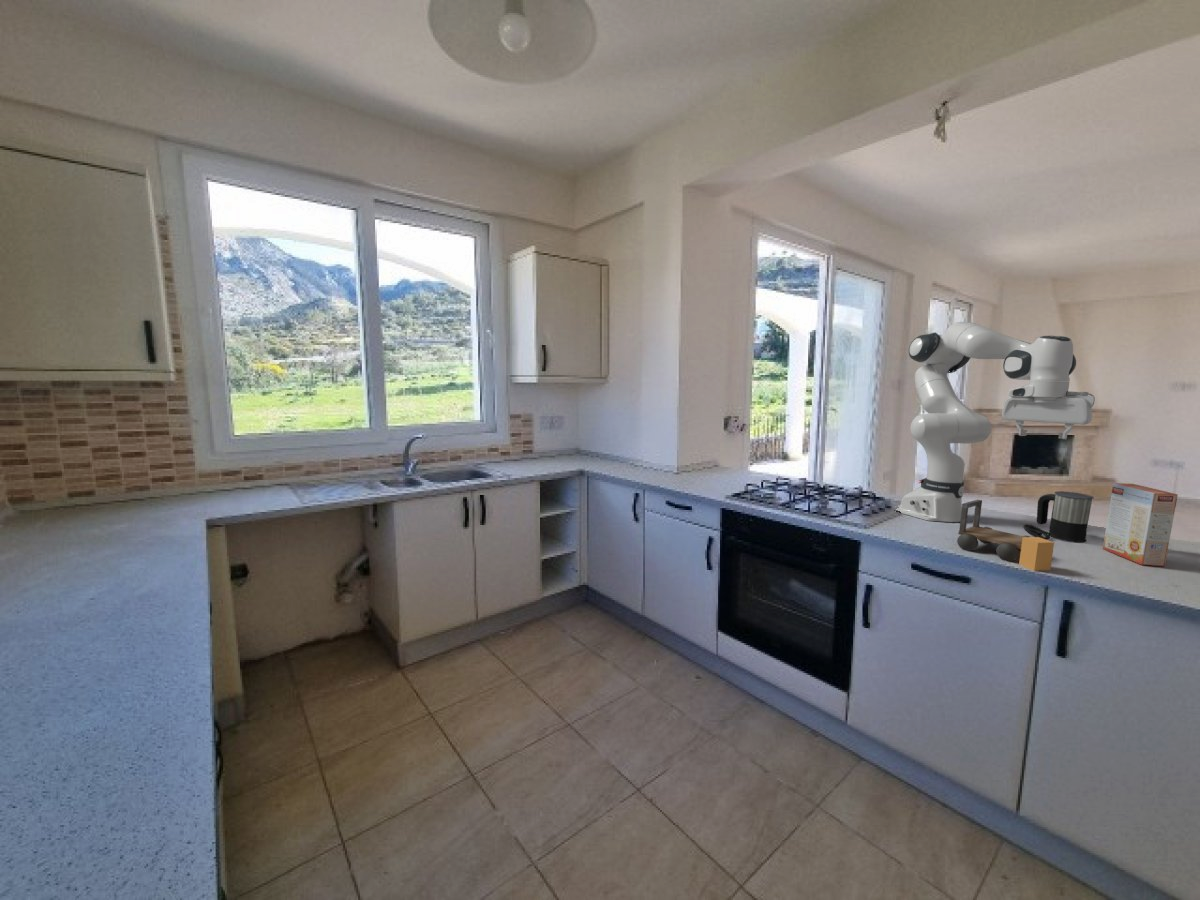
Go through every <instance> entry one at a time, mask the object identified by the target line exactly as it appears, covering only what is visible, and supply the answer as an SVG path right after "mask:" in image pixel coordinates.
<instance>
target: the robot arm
mask: <svg viewBox="0 0 1200 900" xmlns="http://www.w3.org/2000/svg"><path fill="white" fill-rule="evenodd" d="M1073 343H1074V342H1073V340H1072V339H1071V338H1069V337H1067V336H1062V335H1042V336H1039V337H1037V338H1036V339H1035V341H1034V342H1032V343H1031V342H1027V341H1024V340H1020V339H1018V338H1015V337H1012V336H1009V335H1008V334H1003V333H1001V332H998V331H997V330H993V329H992V328H989V327H986V326H984V325H981V324H979V323H978V324H977V323H973V322H969V321H958V322H955V323H952V324H951V325H950V326H948V328H947V329H946V330H945V332H944V333H941V334H938V333H937V332H931V333H927V334H920V335H919V336H917V337H915V338H914V339H913V340H912V341H911V342H910V344H909V346H908V356H909V358H910V359H912V360H913V361H914V362H915V361H916V362H917V363H923V364H924V365H922V366H920V367H919V368H918V369H916V371H915V372H914V384H915V389H916V392H917V396H918V398H919V401H920V404H921V406H922V408H923V410H924V411H925V412H927V413H924V414H919V415H916V416H915V417H914V418H913V419H912V421H911V423H910V426H909V429H910V435H911V436H912V438H914V440H915V441H916V442H918V443H919V444H920V445H921V446H922V447H923V450H924V452H925V453H926V459H927V468H926V469H927V471H926V472H927V474H926V477H925V478H921V480H918V481H919V482H918V484H920V487H918V488H915V489H914V490H912V491H910V492H908V493H906V494H904V495H903V497H902V499H901V500H900V504H899V505H897V506H898V507H899V508H897V509H896V510H898V511H900V512H901V513H900V514H903V515H906V516H910V517H914V518H916V519H917V518H918V519H921V520H925V521H929V522H945V523H946V522H947V523H948V522H949V523H959V522H960V520H961V511H962V504H963V503H962V500H963V499H962V498H963V494H964V491H965V490H964V489H965V482H964V472H965V465H966V464H965V460H964V459H963V458H962V457H961V456H960V455H958V454H956V453H954V452H953V451H952V449H951V444H974V443H982V442H984V441H986V440H987V439H988V438H989V437H990V435H991V433H992V424H991V421H990V420H989V419H988V417H986V416H985V415H982V414H980V413H977V412H975V411H974V410H972V409H971V408H969V407H968V406H967V405H966V404H964V403H963V402H962V400H960V399H959V397H958V396H957V395H956V392H955V391H954V388H953V386H952V384H951V381H950V379H949V377H948V374H953V373H955V372H957V371H958V370H960V369H961V368H963V367H964V366H965V365H967V363H968V362H969V361H971V360H970V359H976V360H1003V365H1002V369H1003V372H1004V374H1005V376H1007V377H1008V378H1009V379H1012V380H1018V381H1019V380H1020V381H1021V380H1022V381H1025V380H1026V381H1029V384H1028V385H1024V386H1020V387H1017V388H1016V387H1015V388H1011V389H1009V390H1008V398H1006V399H1005V401H1004V403H1003V407H1002V410H1001V412H1002V413H1001V417H1002V419H1003V420H1004V421H1015V422H1014V423H1015V424H1014V425H1015V426H1016V428H1017V430H1018V436H1020V437H1025V436H1027V435H1028V434H1027V433H1028V429H1025V428H1024V427H1023V425H1024V423H1025V422H1033V423H1034V422H1035V423H1047V424H1048V423H1050V424H1051V423H1052V424H1064V428H1066V429H1065V430H1064V431H1063V432H1058V438H1057V439H1060V440H1067V439H1068V434H1069V433H1070V432H1071V431H1072V430H1073V429H1074V427H1075V425H1081V426H1082V425H1089V424H1090V423H1091V422H1092V420H1093V408H1092V407H1094V404H1095V402H1096V401H1095V400H1096V399H1095V396H1094V395H1093V394H1092V393H1089V392H1088V391H1069V389H1070V383H1071V382H1070V375H1071V374H1072V373H1073V372H1074V371H1075V369H1076V366H1077V359H1076V356H1075V355H1074V344H1073Z"/></svg>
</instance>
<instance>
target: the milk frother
mask: <svg viewBox="0 0 1200 900" xmlns="http://www.w3.org/2000/svg"><path fill="white" fill-rule="evenodd" d="M1094 498H1095V497H1094V496H1093V495H1090V494H1085V493H1080V492H1073V491H1072V492H1071V491H1062V490H1059V491H1055V492H1054V493H1048V494H1043V495H1041V496H1040V497H1039V498H1038V500H1037V509H1036V524H1038V525H1046V524H1047V523H1048V515H1049V505H1050V501H1053V504H1052V511H1051V516H1050V517H1051V518H1050V524H1049V528H1048V529H1049V531H1045V530H1043V529H1042V528H1039V527H1037V526H1034V525H1032V524H1028V523H1025V524H1024V525H1023V526H1022V528H1023V530H1024V531H1025V532H1026V533H1027V534H1029V536H1030V535H1031V537H1040V538H1043V539H1046V540H1048V541H1049V540H1050V538H1053V539H1056V540H1059V541H1065V542H1070V543H1087V531H1088V524H1089V521H1090V516H1091V515H1090V514H1091V507H1092V503H1093V502H1092V501H1093V499H1094Z"/></svg>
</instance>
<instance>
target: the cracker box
mask: <svg viewBox="0 0 1200 900" xmlns="http://www.w3.org/2000/svg"><path fill="white" fill-rule="evenodd" d="M1178 497H1179V496H1178V493H1173V492H1169V491H1165V490H1160V489H1156V488H1152V487H1149V486H1145V485H1139V484H1135V483H1122V482H1119V483H1117V482H1115V483H1112V489H1111V495H1110V500H1109V508H1108V513H1107V520H1106V525H1105V526H1106V527H1105V532H1104V539H1103V545H1102V550H1105V551H1107V552H1110V553H1111V554H1114V555H1117V556H1120V557H1122V558H1124V559H1126V560H1129V561H1131V562H1134V563H1137V564H1138V565H1141V566H1150V565H1151V566H1153V567H1165V566H1166V561H1167V554H1168V550H1169V545H1170V539H1171V533H1172V529H1173V524H1174V523H1173V522H1174V516H1175V512H1176V506H1177V503H1178V502H1177V501H1178ZM1151 566H1150V567H1151Z"/></svg>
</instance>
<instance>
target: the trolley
mask: <svg viewBox="0 0 1200 900" xmlns="http://www.w3.org/2000/svg"><path fill="white" fill-rule="evenodd" d="M982 504H983V500H981V499H975V500H971V501H968V502H964V503H962V511H961V520H960V523H959V530H958V535H959V536H958V537H957V540H956V542H957V545H958V546H959V548H961V549H962V550H964V551H967V552H968V551H969V552H970V551H973V550H976V549H977V548H978V546H979V541H980V542H981V543H982V542H983V543H982V544H986V543H988V544H991V543H992V544H993V543H994V544H999V545H998V546H997V547H996V550H995V551H996V555H997V557H999V558H1000V559H1001V560H1003V561H1005V560H1006V562H1012V561H1015V560H1017V559H1018V558H1020V553H1021V546H1022V538H1023V537H1031V536H1030V535H1019V534H1015V533H1010V532H1005V531H1001V530H997V529H993V528H991V527H988V526H984V527H983V526H980V521H981V515H982V514H981V513H982ZM972 507H974V514H973V521H972V522H973V523H972V526H971V527H967V522H968V512H969V509H970V508H972Z"/></svg>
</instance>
